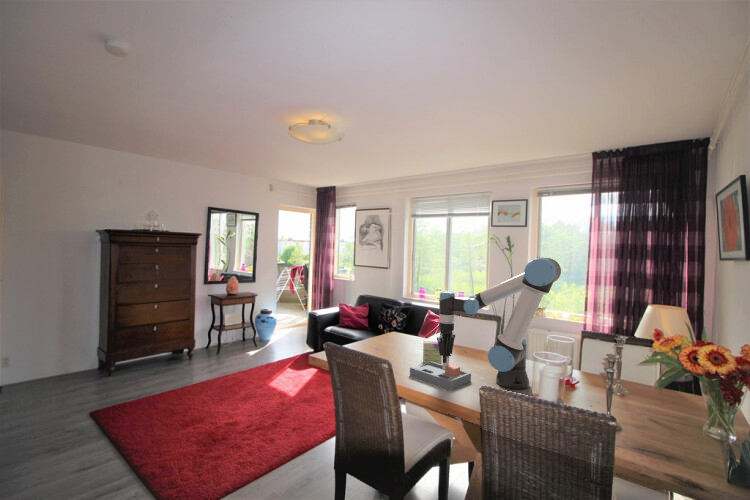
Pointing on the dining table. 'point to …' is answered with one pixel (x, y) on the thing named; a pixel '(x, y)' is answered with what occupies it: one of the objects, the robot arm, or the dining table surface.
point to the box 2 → (440, 376)
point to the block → (452, 370)
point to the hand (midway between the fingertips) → (445, 368)
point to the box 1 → (431, 352)
